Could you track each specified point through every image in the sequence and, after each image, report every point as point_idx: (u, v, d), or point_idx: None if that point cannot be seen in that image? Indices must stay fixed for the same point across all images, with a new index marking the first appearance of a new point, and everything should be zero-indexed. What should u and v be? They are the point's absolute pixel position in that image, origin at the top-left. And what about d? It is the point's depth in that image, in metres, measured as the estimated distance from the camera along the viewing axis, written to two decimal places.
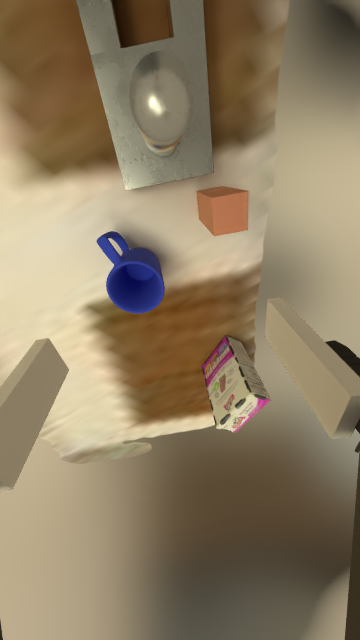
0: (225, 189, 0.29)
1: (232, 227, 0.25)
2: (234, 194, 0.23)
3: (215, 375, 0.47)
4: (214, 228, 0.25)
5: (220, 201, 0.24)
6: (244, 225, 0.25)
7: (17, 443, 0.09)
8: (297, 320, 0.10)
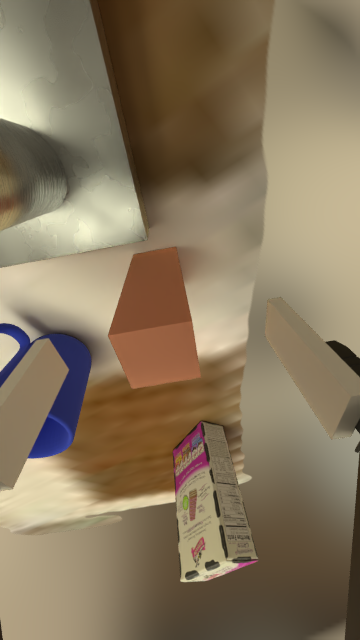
0: (168, 272, 0.15)
1: (168, 375, 0.12)
2: (161, 326, 0.10)
3: (185, 481, 0.34)
4: (129, 378, 0.12)
5: (130, 340, 0.10)
6: (193, 371, 0.12)
7: (17, 443, 0.09)
8: (297, 320, 0.10)
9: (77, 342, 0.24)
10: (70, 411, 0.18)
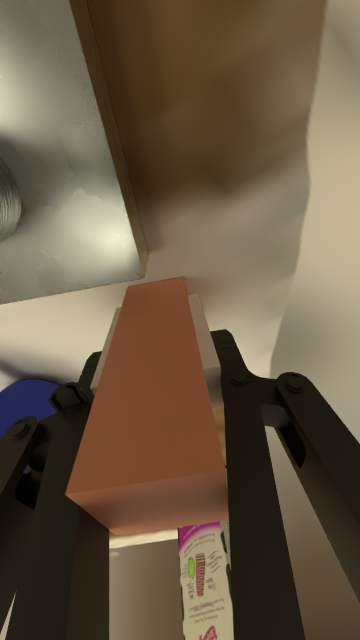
0: (175, 325, 0.11)
1: (176, 521, 0.07)
2: (166, 477, 0.05)
3: (191, 539, 0.29)
4: (112, 527, 0.07)
5: (109, 495, 0.06)
6: (218, 516, 0.07)
7: None
8: (199, 312, 0.12)
9: None
10: None
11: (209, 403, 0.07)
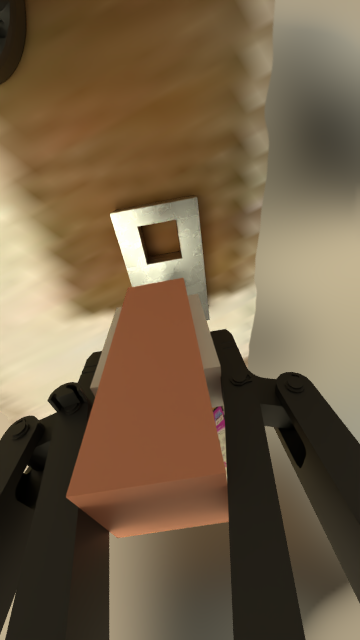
0: (175, 326, 0.10)
1: (177, 523, 0.07)
2: (166, 479, 0.05)
3: None
4: (112, 529, 0.07)
5: (110, 498, 0.06)
6: (219, 517, 0.07)
7: None
8: (199, 312, 0.12)
9: None
10: None
11: (209, 405, 0.07)
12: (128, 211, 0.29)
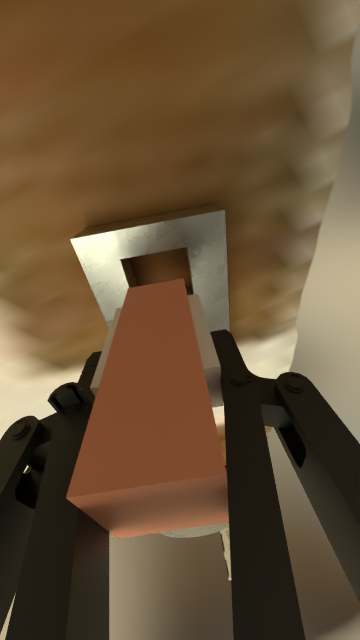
0: (175, 327, 0.10)
1: (177, 524, 0.07)
2: (167, 480, 0.05)
3: None
4: (112, 530, 0.07)
5: (110, 499, 0.06)
6: (219, 518, 0.07)
7: None
8: (199, 312, 0.12)
9: None
10: None
11: (210, 406, 0.07)
12: (103, 234, 0.17)
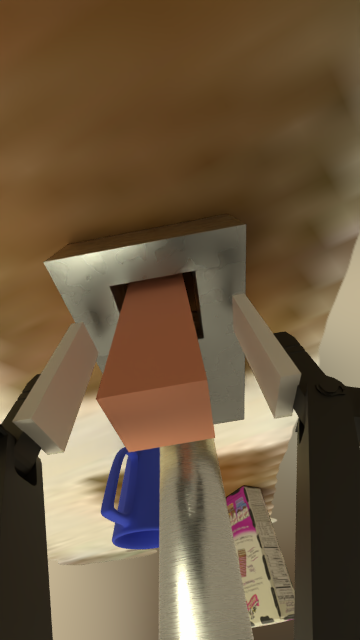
0: (172, 298, 0.13)
1: (174, 437, 0.10)
2: (166, 386, 0.08)
3: None
4: (125, 442, 0.09)
5: (126, 402, 0.08)
6: (205, 432, 0.10)
7: (65, 412, 0.10)
8: (253, 313, 0.11)
9: None
10: None
11: (198, 345, 0.09)
12: (87, 256, 0.13)
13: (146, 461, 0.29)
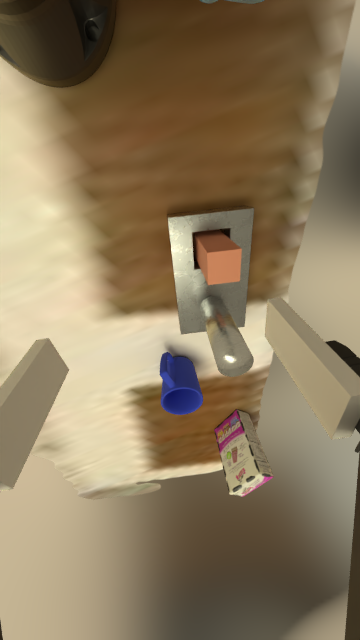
0: (221, 237, 0.30)
1: (225, 278, 0.27)
2: (228, 250, 0.25)
3: (227, 444, 0.58)
4: (208, 278, 0.26)
5: (215, 256, 0.25)
6: (237, 277, 0.27)
7: (17, 443, 0.09)
8: (297, 320, 0.10)
9: (190, 361, 0.48)
10: (201, 393, 0.43)
11: (236, 244, 0.26)
12: (186, 216, 0.30)
13: (179, 363, 0.46)
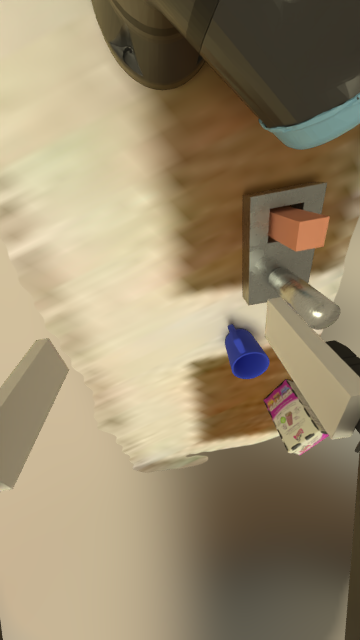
0: (298, 211, 0.34)
1: (311, 244, 0.31)
2: (318, 219, 0.29)
3: (280, 411, 0.63)
4: (297, 245, 0.31)
5: (306, 224, 0.29)
6: (321, 243, 0.31)
7: (17, 443, 0.09)
8: (297, 320, 0.10)
9: None
10: None
11: (320, 214, 0.30)
12: (267, 194, 0.34)
13: (242, 333, 0.51)
